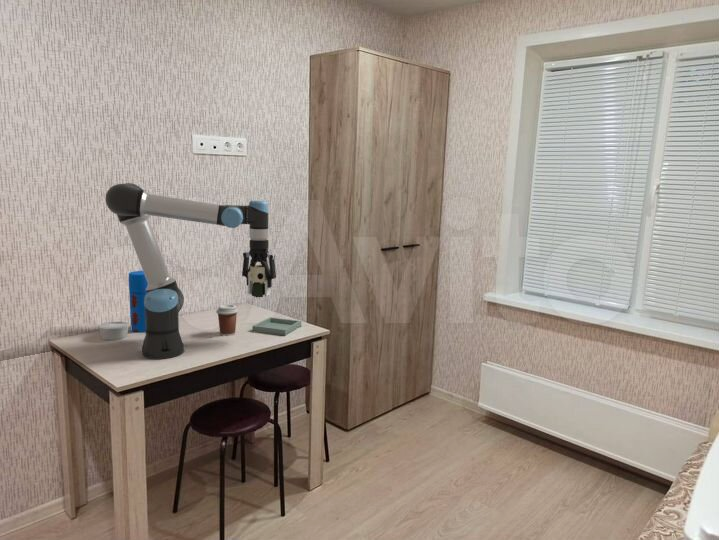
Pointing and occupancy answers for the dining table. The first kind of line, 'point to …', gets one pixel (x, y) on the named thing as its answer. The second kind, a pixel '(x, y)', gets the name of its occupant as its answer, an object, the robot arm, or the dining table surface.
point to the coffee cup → (227, 319)
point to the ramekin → (114, 330)
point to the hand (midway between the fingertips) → (259, 294)
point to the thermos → (137, 300)
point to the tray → (276, 326)
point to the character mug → (257, 280)
